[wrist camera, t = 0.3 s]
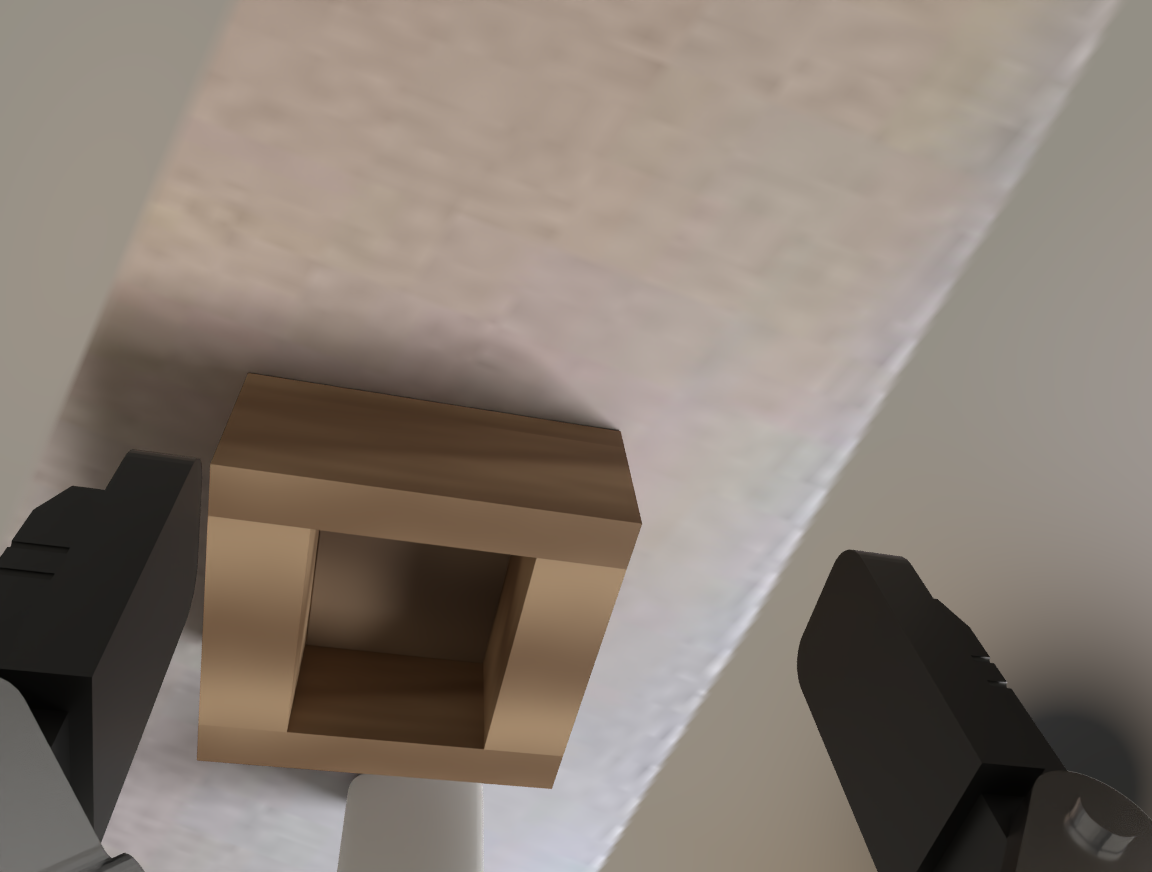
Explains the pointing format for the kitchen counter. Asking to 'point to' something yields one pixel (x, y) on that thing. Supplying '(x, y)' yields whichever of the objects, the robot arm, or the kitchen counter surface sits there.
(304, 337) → the kitchen counter surface
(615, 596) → the socket block
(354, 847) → the eye dropper bottle
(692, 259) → the kitchen counter surface
